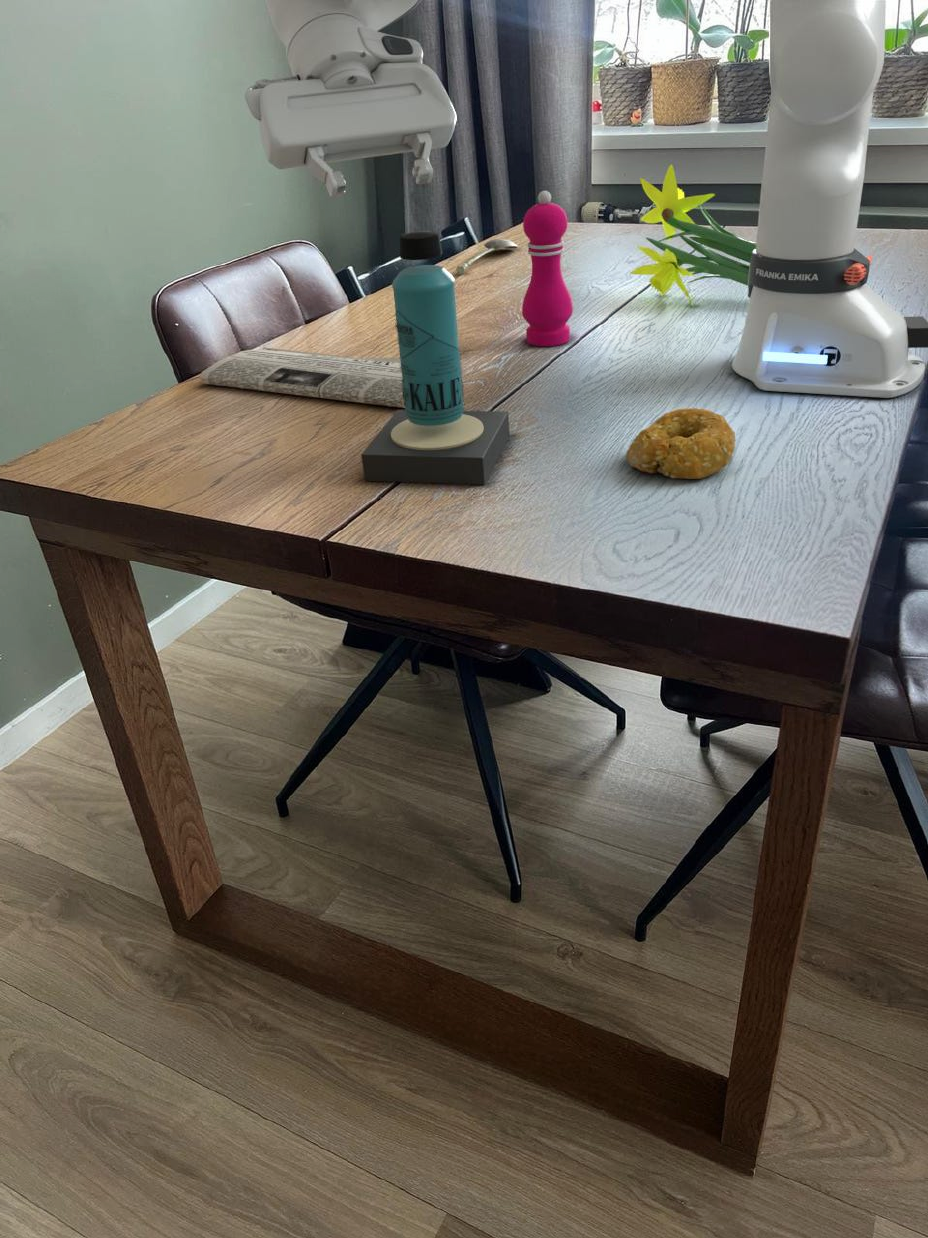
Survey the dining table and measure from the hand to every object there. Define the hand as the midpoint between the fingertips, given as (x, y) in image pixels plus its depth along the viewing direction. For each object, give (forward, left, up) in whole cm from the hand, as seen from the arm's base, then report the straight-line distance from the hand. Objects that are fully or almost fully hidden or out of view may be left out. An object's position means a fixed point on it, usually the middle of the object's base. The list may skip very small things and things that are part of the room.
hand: (383, 185), depth 96 cm
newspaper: (+21, -11, -27) cm, 36 cm away
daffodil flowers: (-14, -66, -27) cm, 73 cm away
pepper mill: (+3, -38, -27) cm, 47 cm away
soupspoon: (+40, -79, -27) cm, 92 cm away
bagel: (-31, -5, -27) cm, 41 cm away
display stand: (-7, +4, -27) cm, 28 cm away
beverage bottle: (-7, +4, -24) cm, 25 cm away
